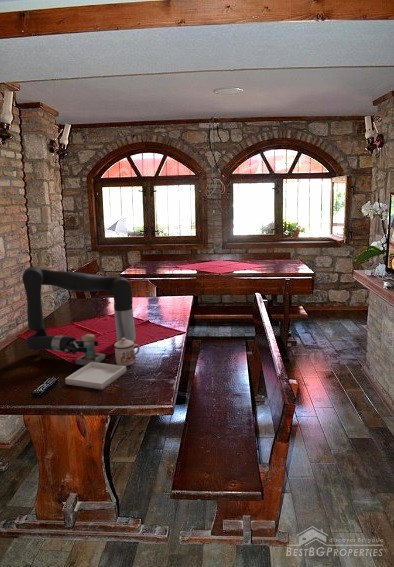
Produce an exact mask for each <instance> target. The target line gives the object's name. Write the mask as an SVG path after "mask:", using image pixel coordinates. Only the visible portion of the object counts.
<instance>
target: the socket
mask: <svg viewBox="0 0 394 567" xmlns="http://www.w3.org/2000/svg"><path fill="white" fill-rule="evenodd" d="M95 356H96V357H97V358H95V359H94V360H84V358H85V353H84V354H83V355H81V356H79V357H77V358H76V359H75V360H74V362H75V364H76V365H82V366H86V365H87V364H89V363H90V362H97V363H101V362H102V361H104V359H106V353H99V352H95Z"/></svg>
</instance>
